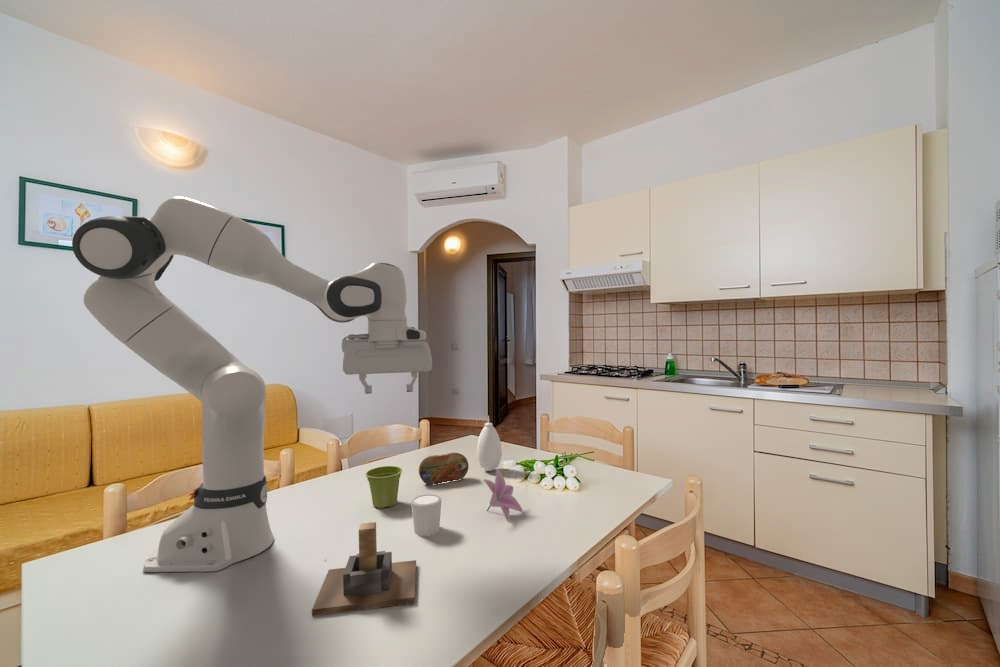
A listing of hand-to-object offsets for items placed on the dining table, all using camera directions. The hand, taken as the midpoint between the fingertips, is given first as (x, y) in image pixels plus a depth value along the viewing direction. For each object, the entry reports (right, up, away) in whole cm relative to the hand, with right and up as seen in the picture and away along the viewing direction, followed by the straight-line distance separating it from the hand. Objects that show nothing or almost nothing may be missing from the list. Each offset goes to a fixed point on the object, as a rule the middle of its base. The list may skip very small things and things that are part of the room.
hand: (389, 392), depth 101 cm
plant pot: (-5, -32, +13) cm, 34 cm away
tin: (+9, -31, +30) cm, 44 cm away
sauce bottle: (+23, -31, +39) cm, 55 cm away
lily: (+26, -31, +5) cm, 41 cm away
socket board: (+3, -31, -25) cm, 40 cm away
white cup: (+9, -31, -3) cm, 33 cm away
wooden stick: (+3, -30, -25) cm, 39 cm away
